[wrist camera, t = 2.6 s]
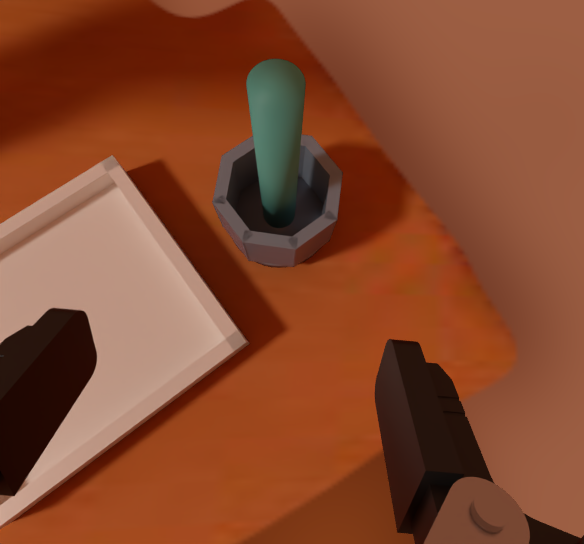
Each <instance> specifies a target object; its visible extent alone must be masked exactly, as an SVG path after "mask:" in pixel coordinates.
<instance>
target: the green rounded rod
mask: <svg viewBox="0 0 584 544" xmlns="http://www.w3.org/2000/svg"><path fill="white" fill-rule="evenodd" d="M246 85H247V94H248V101H249V109H250V116H251V124H252V132H253V139H254V147H255V154H256V162H257V170H258V177H259V185H260V193H261V200H262V208H263V215H264V219H265V221H266V222H267V223H268V224H269V225H270V226H272V227H274V228H284V227H287V226H288V225H290V224H291V223H292V221H293V220H294V217H295V207H296V195H297V183H298V171H299V158H300V146H301V134H302V122H303V109H304V97H305V85H306V84H305V78H304V75H303V73H302V72H301V70H300V69H299V68H298V67H297V66H296V65H294V64H293V63H291V62H289V61H286V60H282V59H269V60H265V61H263V62H260V63H259V64H257V65H256V66H255V67H254V68H253V69H252V70H251V71H250V73H249V75H248V77H247V83H246Z"/></svg>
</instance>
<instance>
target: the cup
mask: <svg viewBox="0 0 584 544" xmlns="http://www.w3.org/2000/svg"><path fill="white" fill-rule="evenodd" d="M342 175H343V172H342V171H341V170H340V169H339V168H338V166H337V165H336V164H335V163H334V162H333V160H332V159H331V158H330V157H329V156H328V155H327V153H326V152H325V151H324V150H323V149H322V148H321V146H320V145H319V144H318V143H317V142H316V140H315V139H314V138H313V137H312V136H308V135H301V146H300V158H299V171H298V183H297V195H296V207H295V217H294V220H293V221H292V223H291V224H290V225H288V226H287V227H284V228H274V227H272V226H270V225H269V224H268V223H267V222H266V221H265V219H264V215H263V208H262V200H261V193H260V185H259V177H258V170H257V162H256V154H255V147H254V139H253V136H252V137H250V138H249V139H247V140H245V141H244V142H242V143H241V144H239V145H238V146H236V147H235V148H233V149H232V150H230V151H229V152H227V153H225V154H224V155H222V158H221V163H220V168H219V173H218V178H217V183H216V188H215V193H214V198H213V205H214V207H215V210H216V212H217V214H218V216H219V219H220V221H221V223H222V226H223V227H224V228H225V229H226V231H227V232H228V233H229V235H230V236H231V237H232V239H233V241H234V243H235V244H236V246H237V247H238V248H239V250H240V251H241V252H242V253H243V254H244V255H245V256H246V257H247V259H248V261H255V262H257V263H259V264H262V265H264V266H269V267H277V268H280V267H289V266H290V267H294V266H296V265H297V264H300V263H302V262H304V261H306V260H307V259H309V258H310V257H312V256H313V255H314V254H315V253H316V252H317V251H318V250H319V249H320V248H321V247H322V246H323V245H324V244H326V243H327V242H329V240H330V238H331V235H332V232H333V230H334V227H335V225H336V222H337V216H338V207H339V199H340V191H341V182H342Z"/></svg>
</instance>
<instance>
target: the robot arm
mask: <svg viewBox="0 0 584 544" xmlns="http://www.w3.org/2000/svg"><path fill="white" fill-rule="evenodd" d="M96 363H97V352H96V348H95V344H94V340H93V336H92V332H91V328H90V324H89V320H88V317H87V314H86V313H85V312H84V311H82V310H73V309H62V308H51V309H49V310H48V311H46V312H45V313H44V314H43V315H42V317H41V318H40V319H39V320H38V321H37V322H36V323H35V324H34V325H33V326H29V325H27V326H26V327H24V328H22V329H21V330H19V331H17V332H15V333H14V334H12V335H10V336H9V337H7V338H5V339H4V340H3V341H2V342H1V343H0V495H5V496H15V495H16V493H17V492H18V490H19V489H20V487H21V486H22V484H23V483H24V481H25V479H26V478H27V476H28V475H29V473H30V472H31V470H32V469H33V467H34V465H35V464H36V462H37V461H38V459H39V458H40V456H41V455H42V453H43V452H44V450H45V448H46V447H47V445H48V444H49V442H50V441H51V439H52V438H53V436H54V434H55V433H56V431H57V430H58V428H59V427H60V425H61V424H62V422H63V421H64V419H65V417H66V416H67V414H68V413H69V411H70V410H71V408H72V407H73V405H74V403H75V402H76V400H77V399H78V397H79V396H80V394H81V393H82V391H83V389H84V388H85V386H86V385H87V383H88V382H89V380H90V379H91V377H92V375H93V373H94V371H95V368H96ZM375 403H376V409H377V415H378V421H379V427H380V433H381V439H382V445H383V451H384V456H385V462H386V468H387V474H388V480H389V486H390V492H391V498H392V503H393V509H394V515H395V521H396V527H397V532H398V533H408V534H413V536H414V541H415V544H584V536H583V537H582V538H579V537H576V536H574V535H571V534H569V533H566V532H564V531H562V530H559V529H557V528H554V527H552V526H549V525H547V524H544V523H542V522H539V521H537V520H535V519H533V518H531V517H529V516H527V515H526V514H524V513H523V512H522V510H521V508H520V507H519V505H518V504H517V503H516V501H515V500H514V499H513V498H512V497H511V496H510V495H509V494H508V493H507V492H506V491H504V490H503V489H502V488H500V487H499V486H497V485H496V484H495V483H494V482H493V480H492V478H491V476H490V474H489V471H488V468H487V466H486V463H485V461H484V459H483V456H482V454H481V451H480V449H479V446H478V444H477V441H476V439H475V436H474V434H473V431H472V429H471V426H470V424H469V421H468V419H467V417H465V411H464V409H463V406H462V404H461V401H459V396H458V394H457V391H456V389H455V386H454V384H453V381H452V379H451V378H450V377H449V376H448V375H447V374H446V373H445V371H444V370H443V369H442V368H441V367H440V366H439V365H438V364H436V363H426V361H425V358H424V355H423V352H422V349H421V347H420V344H419V343H418V342H414V341H403V340H392V339H389V340H388V341H387V343H386V346H385V349H384V353H383V357H382V360H381V364H380V367H379V371H378V375H377V378H376V384H375Z"/></svg>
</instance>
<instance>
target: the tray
mask: <svg viewBox="0 0 584 544" xmlns="http://www.w3.org/2000/svg"><path fill="white" fill-rule="evenodd" d="M51 308H62V309H73V310H82V311H84V312H85V313H86V314H87V317H88V320H89V324H90V328H91V332H92V336H93V340H94V344H95V348H96V352H97V363H96V368H95V371H94V373H93V375H92V377H91V379H90V380H89V382H88V383H87V385H86V386H85V388H84V389H83V391H82V393H81V394H80V396H79V397H78V399H77V400H76V402H75V403H74V405H73V407H72V408H71V410H70V411H69V413H68V414H67V416H66V417H65V419H64V421H63V422H62V424H61V425H60V427H59V428H58V430H57V431H56V433H55V434H54V436H53V438H52V439H51V441H50V442H49V444H48V445H47V447H46V448H45V450H44V452H43V453H42V455H41V456H40V458H39V459H38V461H37V462H36V464H35V465H34V467H33V469H32V470H31V472H30V473H29V475H28V476H27V478H26V479H25V481H24V483H23V484H22V486H21V487H20V489H19V490H18V492H17V493H16V495H15V496H5V495H0V529H1V528H3V527H4V526H6V525H8V524H10V523H11V522H13V521H14V520H15V519H17V518H18V517H19V516H21V515H22V514H23V513H25V512H26V511H27V510H29V509H30V508H31V507H33V506H34V505H35V504H37V503H38V502H39V501H41V500H42V499H43V498H45V497H46V496H47V495H49V494H50V493H51V492H53V491H54V490H55V489H57V488H58V487H59V486H61V485H62V484H63V483H65V482H66V481H67V480H69V479H70V478H71V477H73V476H74V475H75V474H77V473H78V472H79V471H81V470H82V469H83V468H85V467H86V466H87V465H89V464H90V463H91V462H93V461H94V460H95V459H97V458H98V457H99V456H101V455H102V454H103V453H105V452H106V451H107V450H109V449H110V448H111V447H113V446H114V445H115V444H117V443H118V442H119V441H121V440H122V439H123V438H125V437H126V436H127V435H129V434H130V433H131V432H133V431H134V430H135V429H137V428H138V427H139V426H141V425H142V424H143V423H145V422H146V421H147V420H149V419H150V418H151V417H153V416H154V415H155V414H157V413H158V412H159V411H161V410H162V409H163V408H165V407H166V406H167V405H169V404H170V403H171V402H173V401H174V400H175V399H177V398H178V397H179V396H181V395H182V394H183V393H185V392H186V391H187V390H189V389H190V388H191V387H193V386H194V385H195V384H197V383H198V382H199V381H201V380H202V379H203V378H205V377H206V376H207V375H209V374H210V373H211V372H213V371H214V370H215V369H217V368H218V367H219V366H221V365H222V364H223V363H225V362H226V361H227V360H229V359H230V358H231V357H233V356H234V355H235V354H237V353H238V352H239V351H241V350H242V349H243V348H245V347H246V346H247V345H249V344H250V343H249V342H248V341H247V339H246V338H245V336H244V335H243V334H242V332H241V331H240V329H239V328H238V327H237V325H236V324H235V322H234V321H233V320H232V318H231V317H230V315H229V314H228V313H227V311H226V310H225V309H224V307H223V306H222V304H221V303H220V302H219V300H218V299H217V297H216V296H215V295H214V293H213V292H212V290H211V289H210V288H209V286H208V285H207V283H206V282H205V281H204V279H203V278H202V277H201V275H200V274H199V272H198V271H197V270H196V268H195V267H194V265H193V264H192V263H191V261H190V260H189V258H188V257H187V256H186V254H185V253H184V252H183V250H182V249H181V247H180V246H179V245H178V243H177V242H176V240H175V239H174V238H173V236H172V235H171V233H170V232H169V231H168V229H167V228H166V226H165V225H164V224H163V222H162V221H161V220H160V218H159V217H158V215H157V214H156V213H155V211H154V210H153V208H152V207H151V206H150V204H149V203H148V201H147V200H146V199H145V197H144V196H143V195H142V193H141V192H140V190H139V189H138V188H137V186H136V185H135V183H134V182H133V181H132V179H131V178H130V176H129V175H128V174H127V172H126V171H125V170H124V168H123V167H122V166H121V165H120V164H119V162H118V161H117V160H116V159H115V158H114V156H113V155H112V156H110V157H108V158H107V159H105V160H104V161H102V162H100V163H99V164H97V165H95V166H94V167H92V168H91V169H89V170H87V171H86V172H84V173H82V174H81V175H79V176H78V177H76V178H74V179H73V180H71V181H69V182H68V183H66V184H65V185H63V186H61V187H60V188H58V189H56V190H55V191H53V192H52V193H50V194H48V195H47V196H45V197H43V198H42V199H40V200H39V201H37V202H35V203H34V204H32V205H30V206H29V207H27V208H26V209H24V210H22V211H21V212H19V213H17V214H16V215H14V216H13V217H11V218H9V219H8V220H6V221H4V222H3V223H1V224H0V343H1V342H2V341H3V340H4V339H5V338H7V337H9V336H10V335H12V334H14V333H15V332H17V331H19V330H21V329H22V328H24V327H26V326H27V325H29V326H33V325H34V324H35V323H36V322H37V321H38V320H39V319H40V318H41V317H42V315H43V314H44V313H45V312H46V311H48V310H49V309H51Z"/></svg>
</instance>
